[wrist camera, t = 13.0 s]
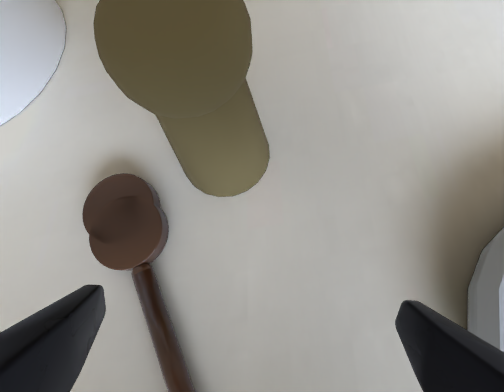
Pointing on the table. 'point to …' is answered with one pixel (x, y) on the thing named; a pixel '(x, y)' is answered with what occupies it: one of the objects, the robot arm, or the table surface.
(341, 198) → the table surface
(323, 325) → the table surface
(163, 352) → the wooden spoon
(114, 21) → the olive pawn
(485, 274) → the frying pan
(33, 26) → the cylinder
